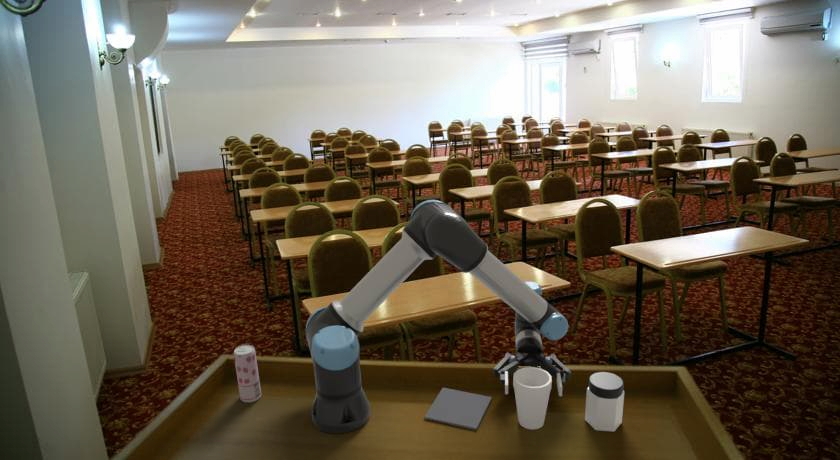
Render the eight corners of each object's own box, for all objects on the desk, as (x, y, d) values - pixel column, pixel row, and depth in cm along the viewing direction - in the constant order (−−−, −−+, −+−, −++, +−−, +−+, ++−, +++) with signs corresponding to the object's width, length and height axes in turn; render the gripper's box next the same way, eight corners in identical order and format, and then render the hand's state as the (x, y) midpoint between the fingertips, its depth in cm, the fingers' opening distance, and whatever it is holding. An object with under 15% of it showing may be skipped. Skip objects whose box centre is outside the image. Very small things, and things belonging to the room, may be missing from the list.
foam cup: (549, 435, 149) (551, 389, 145) (511, 431, 151) (512, 386, 147) (549, 411, 158) (551, 368, 154) (513, 408, 160) (514, 365, 156)
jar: (628, 427, 151) (632, 386, 147) (600, 436, 149) (603, 394, 145) (605, 407, 159) (609, 367, 155) (579, 415, 157) (581, 374, 153)
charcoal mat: (424, 418, 157) (424, 416, 157) (442, 389, 169) (442, 387, 169) (476, 430, 152) (476, 428, 152) (491, 399, 164) (491, 397, 164)
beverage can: (240, 393, 171) (233, 346, 166) (261, 389, 172) (255, 342, 167) (240, 404, 166) (232, 356, 161) (261, 401, 167) (254, 353, 162)
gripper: (572, 361, 175) (582, 405, 155) (485, 358, 178) (484, 401, 158) (574, 337, 173) (584, 379, 153) (485, 335, 176) (484, 376, 156)
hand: (533, 390), depth 156 cm, fingers open, 13 cm apart
